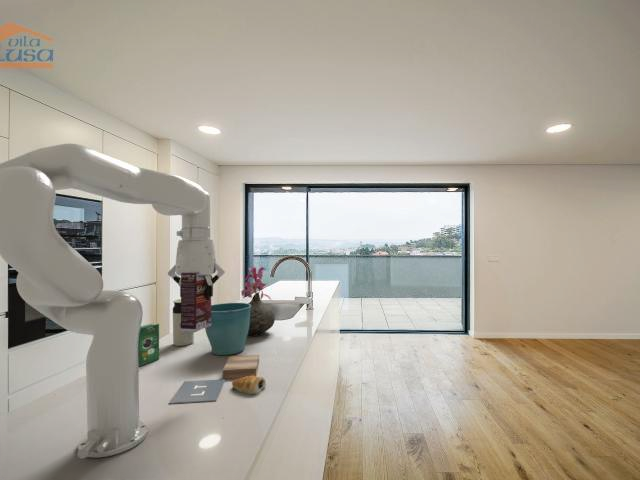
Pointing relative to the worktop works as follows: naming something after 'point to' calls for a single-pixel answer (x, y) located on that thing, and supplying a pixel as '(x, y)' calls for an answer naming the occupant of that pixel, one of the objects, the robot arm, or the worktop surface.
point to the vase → (258, 305)
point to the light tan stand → (241, 366)
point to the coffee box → (148, 344)
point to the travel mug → (178, 335)
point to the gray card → (198, 391)
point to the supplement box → (194, 303)
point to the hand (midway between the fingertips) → (196, 299)
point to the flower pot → (228, 327)
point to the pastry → (249, 384)
